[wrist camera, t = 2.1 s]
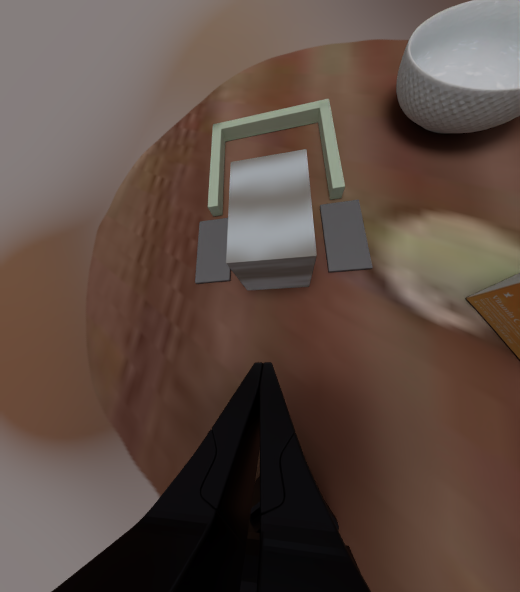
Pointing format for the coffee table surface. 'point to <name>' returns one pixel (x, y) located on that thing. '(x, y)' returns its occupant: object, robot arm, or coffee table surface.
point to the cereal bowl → (463, 68)
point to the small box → (502, 309)
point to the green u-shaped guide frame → (335, 217)
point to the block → (271, 222)
